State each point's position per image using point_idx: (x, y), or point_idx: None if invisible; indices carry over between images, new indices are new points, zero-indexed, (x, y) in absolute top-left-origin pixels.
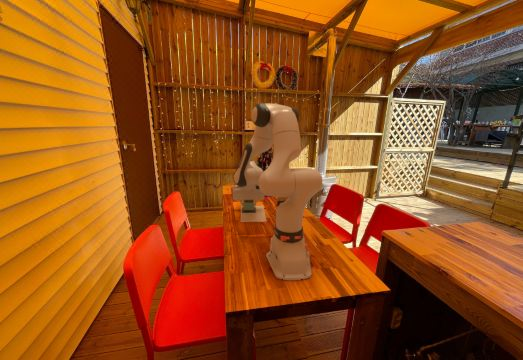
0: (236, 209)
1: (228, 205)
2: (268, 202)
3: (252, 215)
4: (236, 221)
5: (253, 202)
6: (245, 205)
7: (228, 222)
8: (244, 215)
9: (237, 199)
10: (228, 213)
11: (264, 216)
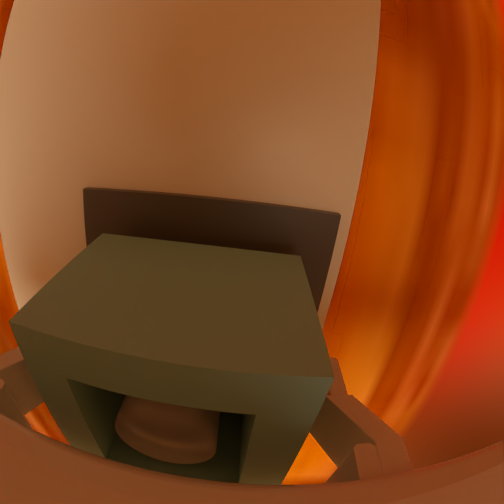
0: (351, 379)
1: None
2: (46, 421)
3: (152, 73)
4: (420, 22)
5: (22, 343)
6: (267, 315)
7: (496, 44)
8: (304, 91)
9: (483, 464)
10: (464, 289)
11: (8, 54)
